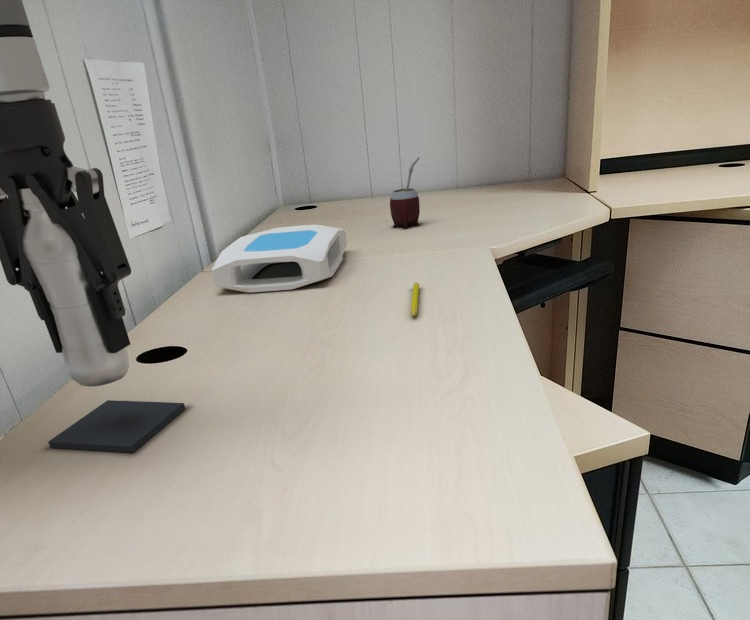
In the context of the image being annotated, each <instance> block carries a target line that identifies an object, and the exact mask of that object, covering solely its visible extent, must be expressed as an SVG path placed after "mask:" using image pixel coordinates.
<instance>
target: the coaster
mask: <svg viewBox="0 0 750 620" xmlns="http://www.w3.org/2000/svg"><path fill="white" fill-rule="evenodd" d="M185 410H186V406H185V403H184V402H167V401H166V402H165V401H143V400H142V401H140V400H109V399H107V400H106V401H104V402H103V403H101V404H100V405H99V406H97V407H96V408H94V409H93V410H91V411H90V412H88V413H87V414H86V415H84V416H83V417H81V418H80V419H78V420H77V421H75V422H74V423H73V424H71V425H70V426H68V427H67V428H66V429H64V430H63V431H61V432H60V433H58V434H57V435H56V436H54V437H52V438H51V439H49V440H47V444H48V445H49V448H51V449H64V450H65V449H66V450H81V451H95V452H96V451H97V452H111V453H126V454H127V453H129V454H133V453H135V452H136V451H137V450H138V449H140V447H142V446H143V445H144V444H146V443H147V442H148V441H150V439H151V438H153V437H154V436H155V435H157V434H158V432H160V431H161V430H162V429H164V427H166V426H167V425H168V424H169V423H170V422H171V421H173V420H174V419H175V418H176V417H177V416H179V415H180V414H181V413H182V412H184V411H185Z"/></svg>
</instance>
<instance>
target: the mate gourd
mask: <svg viewBox="0 0 750 620" xmlns="http://www.w3.org/2000/svg"><path fill="white" fill-rule="evenodd" d="M419 160H420V157H417V158H416V159H415V160H414V162H412V164H411V166H410V167H409V169H408V178H407V183H406V187H405V188H400V189H396V190H393V191H392V193H391V195H390V197H389V209H390V217H391V219H392V222H393V225H392V227H393V229H395V228H403V230H406V229H407V230H408V227H418V226H420V222H419V219H420V213H421V212H420V196H419V193H418V192H417V191H416V189H415V188H410V183H411V178H412V173H413V171H414V167H415V165H416V164H417V162H418V161H419Z"/></svg>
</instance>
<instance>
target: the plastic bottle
mask: <svg viewBox="0 0 750 620" xmlns="http://www.w3.org/2000/svg"><path fill="white" fill-rule="evenodd" d="M19 194H20V197H21V201H22V207H23V209H24V210H27V211H28V216H29V217H28V220H27V223H26V226H25V230H24V235H23V250H24V252H25V255H26V257H27V259H28V260H29V263H30V265H31V267H32V269H33V271H34V273H35V275H36V276H37V278H38V280H39V282H40V284H41V286H42V288H43V291H44V293H45V296H46V298H47V300H48V302H49V303H50V308H51V310H52V312H53V315H54V318H55V322H56V326H57V329H58V333H59V337H60V340H61V344H62V353H61V354H62V357H63V364H64V367H65V369H66V371H67V372H68V374H69V376H70V378H71V380H73V381H74V382H75V383H76V384H78V385H79V386H82V387H100V386H104V385H108V384H112V383H114V382H118V381H120V380H121V379H123V378H125V377H126V375H127V374H128V371H129V368H130V361H129V354H128V351H127V348H126V347H125V348H124V349H122V350H120V351H119V352H117V353H110V352H109V349H108V346H107V343H106V340H105V337H104V334H103V331H102V328H101V325H100V322H99V319H98V316H97V313H96V310H95V307H94V304H93V301H92V298H91V295H90V292H89V291H90V290H91V289H90V287H92V286H94V284H93V282H92V281H91V279H90V277H89V276H88V274H87V272H86V271H85V269H84V267H83V266H82V264H81V262H80V261H79V259H78V257H77V255H78V254H77V250H76V246H75V244H74V242H73V241H72V239H71V237H70V236H69V234H68V233H67V232H66V231H65V230H64V229H63V228H62V227H61V226H60V225H59V224H56V223H54V222H52V221H51V219H50V218H49V216H48V214H47V213H46V211H45V209H44V208H43V206H42V204H41V203H40V201H39V199H38V198H37V197H36V196H35V195H34V194H33V193H32V191H31V190H30V188H28V189H19ZM61 210H63V209H61Z"/></svg>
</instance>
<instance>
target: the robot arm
mask: <svg viewBox="0 0 750 620" xmlns="http://www.w3.org/2000/svg"><path fill="white" fill-rule="evenodd" d="M46 74H47V73H46V71H45V68H44V65H43V63H42V59H41V56H40V53H39V50H38V47H37V44H36V40H35V38H34V35H33V31H32V29H31V25H30V22H29V19H28V16H27V12H26V9H25V6H24V3H23V0H0V264H1V266H2V270H3V273H4V276H5V279H6V281H7V283H8V284H9V285H10V286H17V285H18V286H21V287H23V288H24V290H26V291H27V292H28V293H29V295H30V297H31V298H30V299H31V300H32V303H33V305H34V309H35V310H36V314H37V316H38V318H39V319H40V320H41V321H44V324H45V327H46V329H47V332H48V334H49V338H50V340H51V342H52V345H53V348H54V350H55V353H56V354H62V344H61V340H60V337H59V333H58V329H57V326H56V322H55V318H54V315H53V312H52V310H51V308H50V303H49V302H48V300H47V298H46V296H45V293H44V291H43V288H42V286H41V284H40V282H39V280H38V278H37V276H36V275H35V273H34V271H33V269H32V267H31V265H30V263H29V260H28V259H27V257H26V255H25V252H24V250H23V235H24V230H25V226H26V223H27V220H28V217H29V216H28V211H27V210H24V209H23V207H22V201H21V197H20V194H19V189H28V188H30V190H31V191H32V193H33V194H34V195H35V196H36V197H37V198H38V199H39V201H40V203H41V204H42V206H43V208H44V209H45V211H46V213H47V214H48V216H49V218H50V219H51V221H52V222H54V223H56V224H59V225H60V226H61V227H62V228H63V229H64V230H65V231H66V232H67V233H68V234H69V236H70V237H71V239H72V241H73V242H74V244H75V246H76V250H77V254H78V255H77V257H78V259H79V261H80V262H81V264H82V266H83V267H84V269H85V271H86V272H87V274H88V276H89V277H90V279H91V281H92V282H93V284H94V286H92V287H90V289H91V290H90V291H89V292H90V295H91V298H92V301H93V304H94V307H95V310H96V313H97V316H98V319H99V322H100V325H101V328H102V331H103V334H104V337H105V340H106V343H107V346H108V349H109V352H110V353H117V352H119V351H120V350H122V349H124V348H125V349H126V348H127V347H129V346H130V345H131V341H130V338H129V335H128V331H127V328H126V325H125V322H124V319H123V318H124V316H126V308H125V305H124V301H123V298H122V295H121V292H120V289H119V283H120V281H122V280H123V279H126V278H127V277H129V276H130V275H132V268H131V266H130V262H129V260H128V256H127V254H126V251H125V249H124V246H123V243H122V240H121V238H120V235H119V231H118V229H117V226H116V224H115V223H116V222H115V221H114V218H113V215H112V212H111V209H110V206H109V204H108V201H107V198H106V196H105V185H104V174H103V173H102V170H100V169H99V168H98V167H93V168H88V169H85V168H81V167H78V166H74V164H73V162H72V161H71V160H70V158H69V157H68V155H67V154H66V151H65V147H64V143H65V141H66V137H65V136H66V135H65V132H64V129H63V126H62V123H61V121H60V117H59V114H58V111H57V107H56V104H55V102H52V100H51V99H49V98H47V99H46V95H45V94H46V93H47V92H49V90H50V89H51V88H50V83H49V81H48V77H47V75H46ZM75 193H76V194H75ZM61 209H63V210H61Z"/></svg>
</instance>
